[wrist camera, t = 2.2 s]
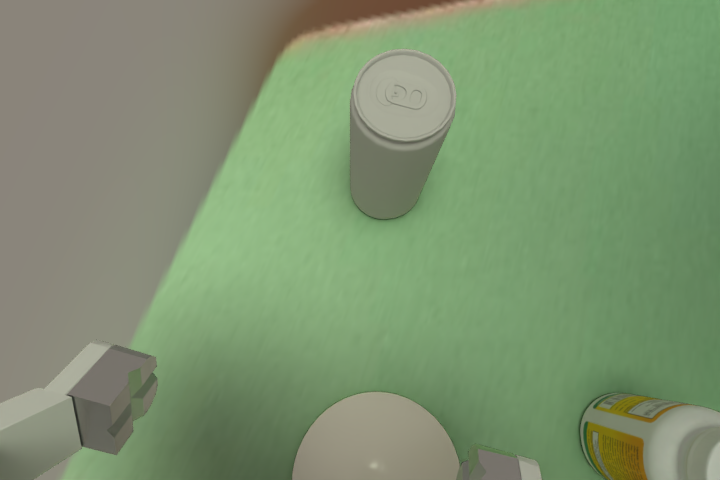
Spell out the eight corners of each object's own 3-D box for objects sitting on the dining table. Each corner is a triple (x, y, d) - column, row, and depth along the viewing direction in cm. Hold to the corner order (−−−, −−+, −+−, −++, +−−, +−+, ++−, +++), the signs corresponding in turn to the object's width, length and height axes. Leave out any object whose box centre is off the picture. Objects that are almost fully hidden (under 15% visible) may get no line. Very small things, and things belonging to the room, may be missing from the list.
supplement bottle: (600, 374, 29) (722, 386, 19) (677, 425, 28) (841, 463, 19) (561, 450, 27) (669, 502, 18) (639, 505, 27) (794, 587, 17)
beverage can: (360, 149, 32) (366, 34, 20) (425, 167, 32) (469, 60, 20) (341, 212, 31) (336, 127, 19) (409, 230, 31) (446, 156, 19)
